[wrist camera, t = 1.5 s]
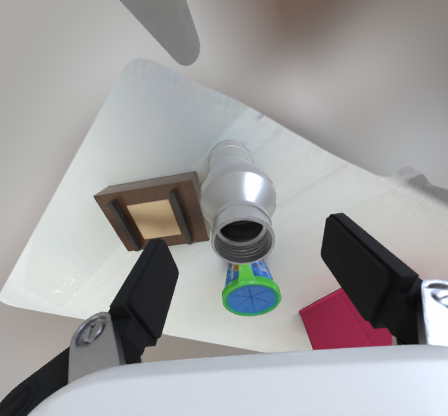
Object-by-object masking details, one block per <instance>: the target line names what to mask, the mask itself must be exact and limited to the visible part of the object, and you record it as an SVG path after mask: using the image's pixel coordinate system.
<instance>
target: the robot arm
mask: <svg viewBox="0 0 448 416" xmlns="http://www.w3.org/2000/svg"><path fill="white" fill-rule="evenodd" d="M321 257H322V259H323V261H324V262H325V264H326V265H327V267H328V268H329V270H330V271H331V272H332V274H333V275H334V277H335V278H336V280H337V281H338V283H339V284H340V286H341V287H342V289H343V290H344V292H345V293H346V295H347V296H348V297H349V299H350V300H351V302H352V303H353V305H354V306H355V308H356V309H357V311H358V312H359V314H360V315H361V317H362V318H363V319H364V320H365V321H368V322H369V323H370V325H371V326H372V327H373V329H381V328H387V329H388V331H389V332H390V333H391V334H392V346H373V347H356V348H340V349H324V350H309V351H293V352H279V353H264V354H250V355H237V356H222V357H209V358H195V359H181V360H168V361H157V362H145V359H144V355H143V352H144V349H145V347H148V346H156V342H157V339H158V338H160V337H161V334H162V331H163V328H164V324H165V321H166V317H167V314H168V310H169V307H170V303H171V300H172V296H173V293H174V289H175V286H176V282H177V279H178V275H179V271H178V268H177V266H176V264H175V262H174V259H173V257H172V255H171V253H170V250H169V248H168V246H167V244H166V242H165V240H162V239H161V238H155V239H150V240H149V242H148V244H147V245H146V247H145V249H144V250H143V252H142V254H141V255H140V257H139V259H138V260H137V262H136V264H135V265H134V267H133V269H132V270H131V272H130V274H129V275H128V277H127V279H126V280H125V282H124V284H123V285H122V287H121V289H120V290H119V292H118V294H117V295H116V297H115V298H114V300H113V302H112V303H111V305H110V310H109V311H108V313H107V312H100V313H97V314H95V315H93V316H91V317H90V318H88V319H87V320H86V321H84V323H82V324H81V325H80V326H79V328H78V329H77V330H76V332H75V333H74V335H73V337H72V339H71V342H70V346H69V347H68V348H67V349H66V350H64V351H63V352H61V353H60V354H59V355H58V356H56V357H55V358H53V359H52V360H51V361H50V362H48V363H47V364H46V365H44V366H43V367H42V368H40V369H39V370H38V371H36V372H35V373H34V374H32V375H31V376H30V377H28V378H27V379H26V380H24V381H23V382H22V383H20V384H19V385H18V386H17V387H15V388H14V389H13V390H12V391H11V392H10V393H9V394H8V395H7V396H6V397H5V398H4V399H3V400H2V402H1V403H0V416H448V282H447V281H443V280H436V279H430V280H425V281H424V282H423V281H422V280H421V279H420V278H419V277H418V276H419V275H418V274H417V273H416V272H414V271H413V270H412V269H411V268H410V267H408V266H407V265H406V264H405V263H403V262H402V261H401V260H400V259H399V258H397V257H396V256H395V255H394V254H392V253H391V252H390V251H389V250H388V249H386V248H385V247H384V246H383V245H382V244H380V243H379V242H378V241H377V240H375V239H374V238H373V237H372V236H371V235H369V234H368V233H367V232H366V231H365V230H363V229H362V228H361V227H360V226H358V225H357V224H356V223H355V222H354V221H352V220H351V219H350V218H349V217H348V216H346V215H345V214H344V213H337V214H331V215H330V216H329V217H328V218H326V223H325V229H324V236H323V242H322V248H321Z"/></svg>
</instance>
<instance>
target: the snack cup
mask: <svg viewBox="0 0 448 416" xmlns="http://www.w3.org/2000/svg"><path fill="white" fill-rule="evenodd" d="M222 296H223V305H224V307H225V308H226V309H227V310H228V311H230V312H232V313H234V314H237V315H241V316H257V315H262V314H265V313H268V312H270V311H272V310H273V309H274V308H276V307H277V306H278V304H279V303H280V301H281V294H280V290H279V288H278V286H277V284H276V283H275V282H274V281H273V279H272V276H271V274H270V272H269V270H268V268H267V266H266V264H265V262H264V260H263V259H262V260H260V261H257V262H255V263H251V264H233V263H229V262H228V270H227V276H226V284H225V288H224V290H223V292H222Z"/></svg>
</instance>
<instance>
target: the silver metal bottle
mask: <svg viewBox="0 0 448 416" xmlns="http://www.w3.org/2000/svg"><path fill="white" fill-rule="evenodd" d="M208 166H209V170H210V173H209V175H208V176H207V177H206V179H205V181H204V183H203V185H202V187H201V189H200V194H199V203H200V208H201V210H202V213H203V215H204V217H205V219H206V220H207V221H208V223H209V224H210V225H211V231H212V238H211V242H212V248H213V250H214V252H215V253H216V254H217V256H219V257H220V258H221V259H223V260H225V261H227V262H229V263H233V264H251V263H255V262H257V261H260V260H262V259H263V258H265V257H266V256H267V255H268V254H269V253H270V252H271V251H272V249H273V247H274V244H275V236H274V232H273V229H272V224H271V220H270V219H271V217H272V215H273V213H274V211H275V207H276V192H275V187H274V185H273V183H272V181H271V180H270V179H269V177H268V176H267V175H266V174H265V173H264V172H263V171H261V170H260V169H259V168H257V167H256V166H254V165H253V157H252V154H251V152H250V150H249V149H248V148H247V147H246V146H245V145H244V144H242V143H240V142H238V141H233V140H228V141H224V142H221V143H219V144H217V145H216V146H215V147H214V148H213V149H212V151H211V153H210V155H209V158H208Z"/></svg>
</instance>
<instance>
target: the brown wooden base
mask: <svg viewBox="0 0 448 416" xmlns="http://www.w3.org/2000/svg"><path fill="white" fill-rule="evenodd" d="M199 194H200V185H199V181H198V177H197V174H196V171H195V172H190V173H184V174H178V175H172V176H166V177H160V178H155V179H149V180H143V181H137V182H131V183H126V184H120V185H114V186H108V187H107V188H105V189H104V190H102V191H101V192H99V193H98V194H96V195H94V196H93V197H94V198H95V200H96V202H97V203H98V205H99V206H100V208H101V209H102V211H103V213H104V214H105V216H106V217H107V219H108V220H109V222H110V224H111V225H112V227H113V228H114V230H115V231H116V233H117V235H118V236H119V238H120V239H121V241H122V242H123V244H124V246H125V247H126V249H127V250H128V251H140V250H143V249H145V247H146V245H147V244H148V242H149V240H150V239H155V238H161V239H162V240H165V242H166V244H167V246H172V245H179V244H187V243H188V245H189V244H192V243H194V242H202V241H209V239H210V230H211V226H210V224H209V223H208V221H207V220H206V219H205V217H204V215H203V213H202V210H201V208H200V203H199Z"/></svg>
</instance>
